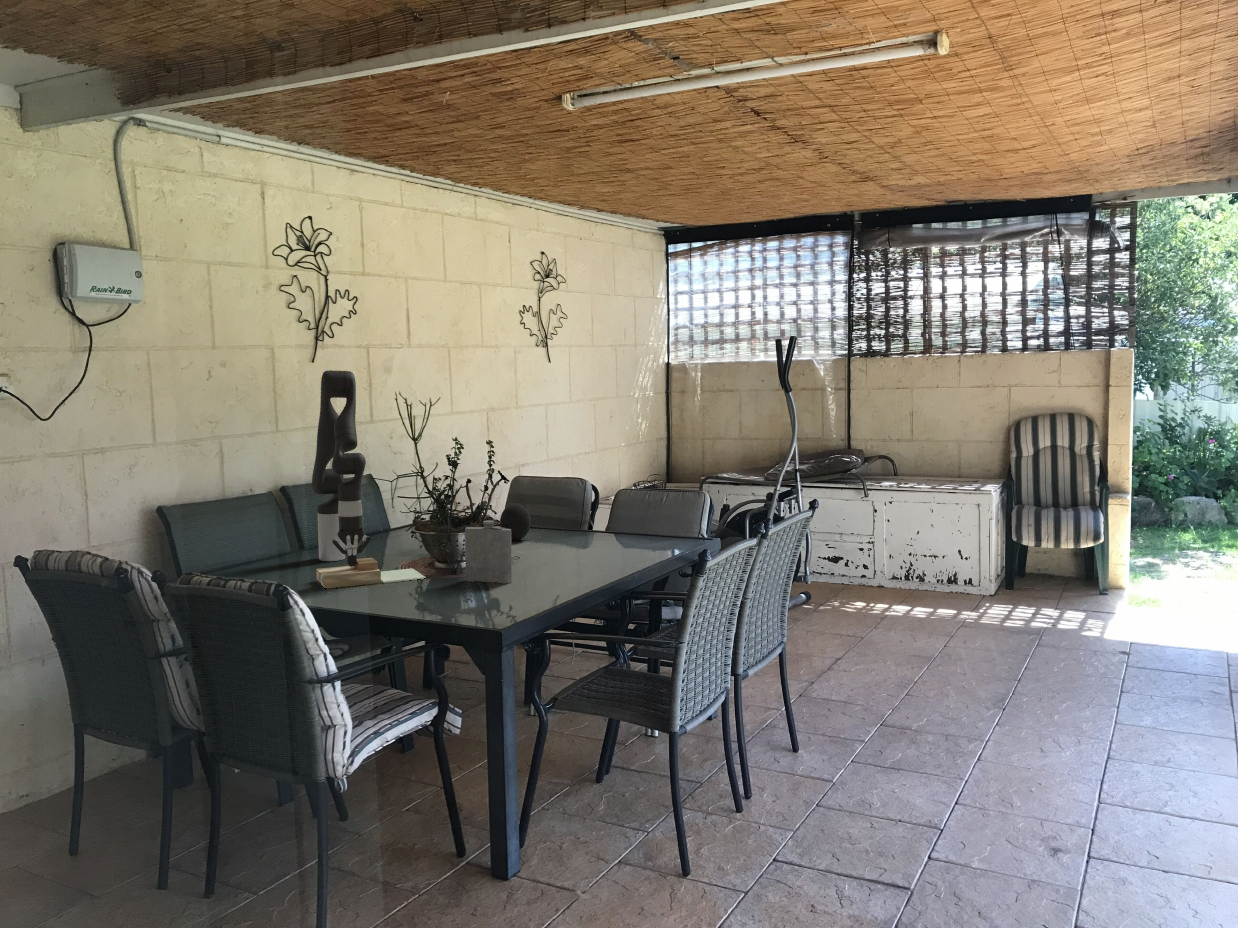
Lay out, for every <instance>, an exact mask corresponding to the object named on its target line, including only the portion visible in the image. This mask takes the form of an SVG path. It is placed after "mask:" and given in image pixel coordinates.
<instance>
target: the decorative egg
mask: <svg viewBox="0 0 1238 928" xmlns="http://www.w3.org/2000/svg"><path fill="white" fill-rule="evenodd" d="M531 521H532V520H531V515H530V512H529V510H528V509H527V508H526V507H525V506H524V505H522V504H520V503H511V504H509V505H508V506H506V507H505V508H504V509H503V510H502V511H501V514H500V518H499V527H501V528H505V529H511V542H512V541H514V542H517V541H520V540H523V539H524V538H525V537H526V536H527V535H528V533H529V531H530V528H531V525H532V523H531Z"/></svg>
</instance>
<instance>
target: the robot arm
mask: <svg viewBox="0 0 1238 928" xmlns="http://www.w3.org/2000/svg"><path fill="white" fill-rule="evenodd" d="M320 380H321V381H320V405H319V408H320V409H319V418H318V426H317V434H316V450H315V460H314V464H313V470H312V476H311V488H312V491H313V493H314V494H316V495H332V496H331V497H330V498H329V499H328V500H326V501H325V502H322V503H319V504H318V505H317V510H316V511H317V533H318V534H317V535H318V536H317V537H318V538H317V539H318V560H319V561H322V562H334V561H335V562H336V561H343V560H345V559H346V564H347V566H350V567H355V565H356V564H357V559H358V558H357V555H358V554H361V553H363V552H364V550H365V548H366V547H367V546H368V544H369V543H370V541H371V540H372V538H371V537H370V536H368V535H366V533H365V531H364V529H363V528H364V527H363V525H364V524H363V505H362V493H361V492H362V489H361V488H362V481H363V476H364V472H365V469H366V464H367V461H366V457H365V455H364V454H362V453H360V452H352V451H354V450H356V449H357V447H358V435H357V434H358V433H357V426H356V425H357V424H356V413H357V412H356V411H357V409H356V408H357V383H356V377H355V374H354V373H353V371H349V370H332V369H331V370H325V371H323V373H322V374H321V379H320ZM335 398H336V399H338V398H339V399H346V401H345V405H344V406H343V409H342V410H341V412H340V413H339V414H338V413H337V411H336V410H335V407H334V406H333V403H332V399H335ZM331 460H332V461H331ZM330 461H331V468H327V466H328V465H329V463H330ZM344 475H345V476H346V475H347V476H348V475H354V476H353V477H352V478H351V480H347V481H345V478H344ZM361 540H362V542H361ZM360 542H361V543H360ZM359 543H360V544H359ZM358 544H359V545H358Z"/></svg>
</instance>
